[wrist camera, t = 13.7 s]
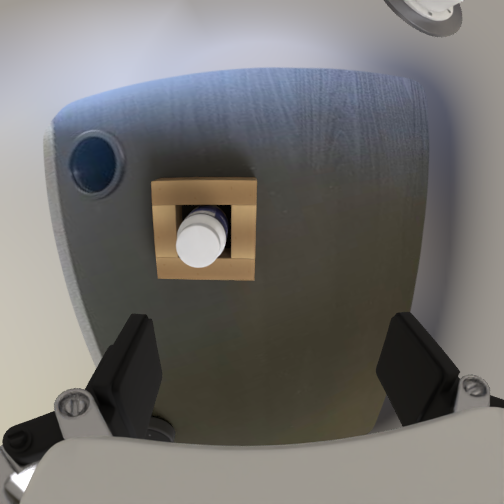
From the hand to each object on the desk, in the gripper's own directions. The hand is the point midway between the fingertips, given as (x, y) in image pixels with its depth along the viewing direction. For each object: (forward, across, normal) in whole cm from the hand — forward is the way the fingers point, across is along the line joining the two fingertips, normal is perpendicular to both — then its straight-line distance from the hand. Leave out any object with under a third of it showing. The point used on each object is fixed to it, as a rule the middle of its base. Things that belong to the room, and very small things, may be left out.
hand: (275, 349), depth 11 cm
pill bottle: (+31, +6, +3) cm, 31 cm away
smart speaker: (+31, +20, +48) cm, 60 cm away
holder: (+30, +6, +3) cm, 31 cm away
